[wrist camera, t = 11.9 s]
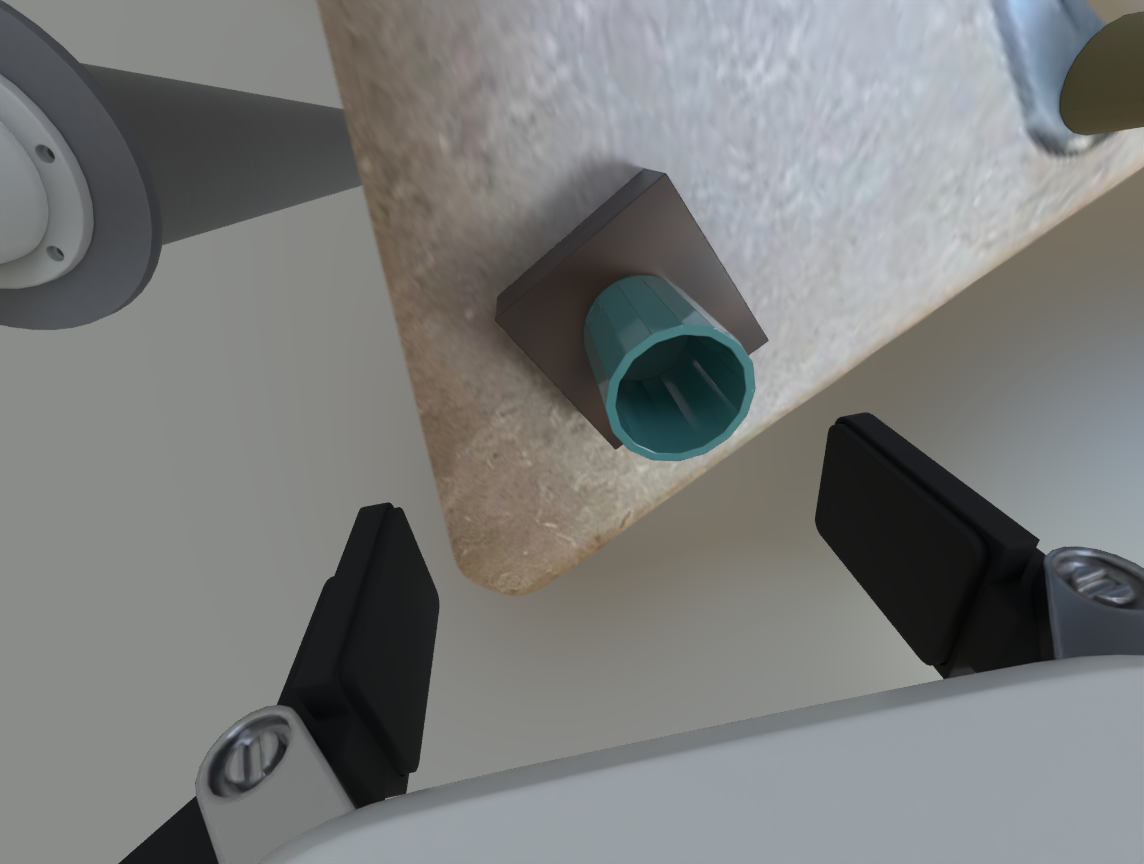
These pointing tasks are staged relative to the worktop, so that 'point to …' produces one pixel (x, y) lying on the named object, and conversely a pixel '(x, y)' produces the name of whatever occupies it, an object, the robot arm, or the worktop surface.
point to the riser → (602, 257)
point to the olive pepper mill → (1107, 80)
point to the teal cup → (665, 369)
